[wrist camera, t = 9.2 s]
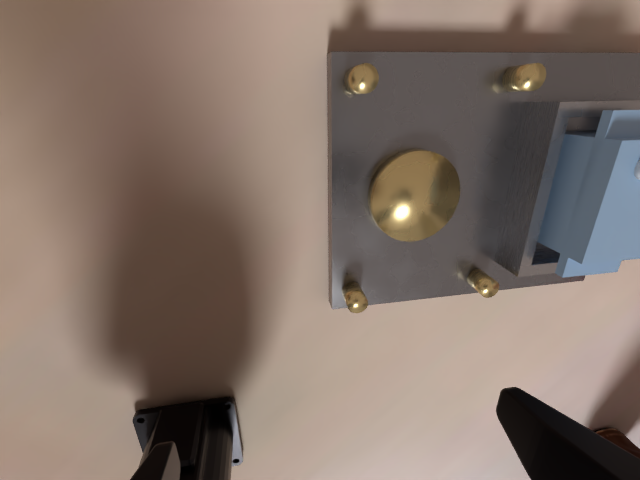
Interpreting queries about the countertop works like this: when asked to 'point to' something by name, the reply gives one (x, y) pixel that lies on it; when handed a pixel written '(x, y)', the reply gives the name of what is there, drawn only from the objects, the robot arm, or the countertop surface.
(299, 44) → the countertop surface
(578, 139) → the servo
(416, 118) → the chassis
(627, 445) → the coffee cup
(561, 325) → the countertop surface
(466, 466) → the countertop surface
